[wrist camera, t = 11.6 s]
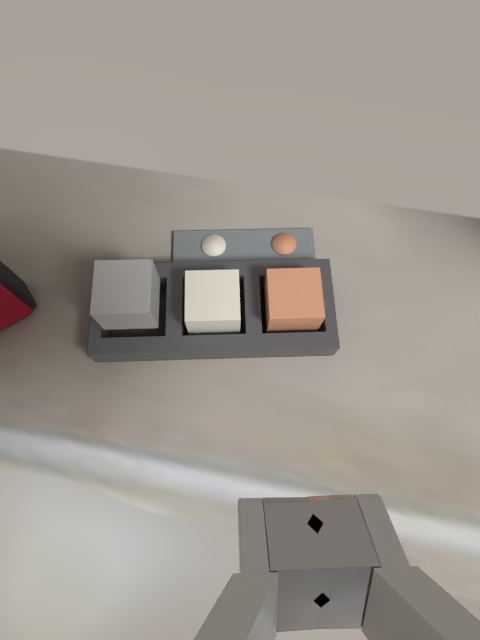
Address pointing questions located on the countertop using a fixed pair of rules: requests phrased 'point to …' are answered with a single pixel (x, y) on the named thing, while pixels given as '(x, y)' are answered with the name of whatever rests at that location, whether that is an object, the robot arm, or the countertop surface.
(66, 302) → the countertop surface
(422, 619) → the robot arm
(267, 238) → the card
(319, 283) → the terracotta key
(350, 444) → the countertop surface
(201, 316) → the cream key
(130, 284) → the grey key
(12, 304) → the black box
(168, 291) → the keyguard frame
